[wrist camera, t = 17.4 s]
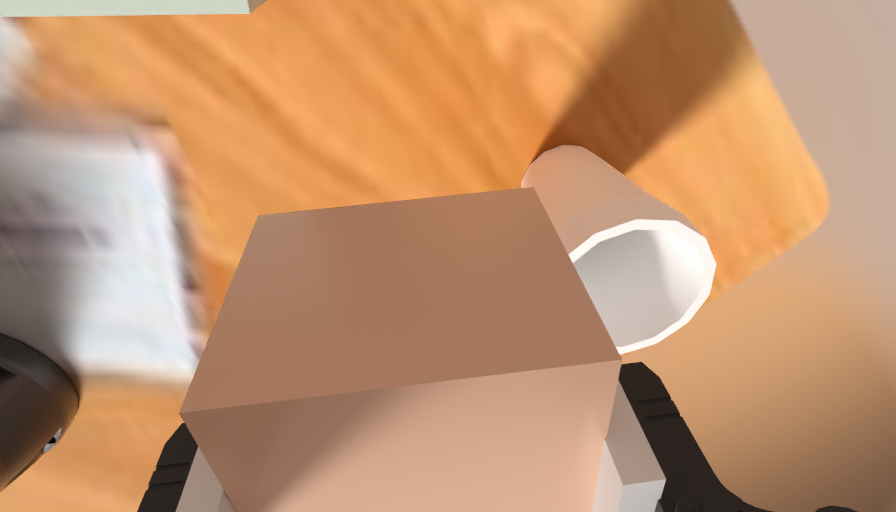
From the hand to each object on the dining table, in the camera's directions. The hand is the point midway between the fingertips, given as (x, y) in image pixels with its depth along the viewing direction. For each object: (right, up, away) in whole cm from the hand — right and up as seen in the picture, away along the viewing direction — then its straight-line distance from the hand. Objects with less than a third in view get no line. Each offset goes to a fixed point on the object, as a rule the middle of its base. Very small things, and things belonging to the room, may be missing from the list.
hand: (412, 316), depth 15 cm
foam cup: (+10, +7, +24) cm, 27 cm away
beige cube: (0, 0, 0) cm, 0 cm away
